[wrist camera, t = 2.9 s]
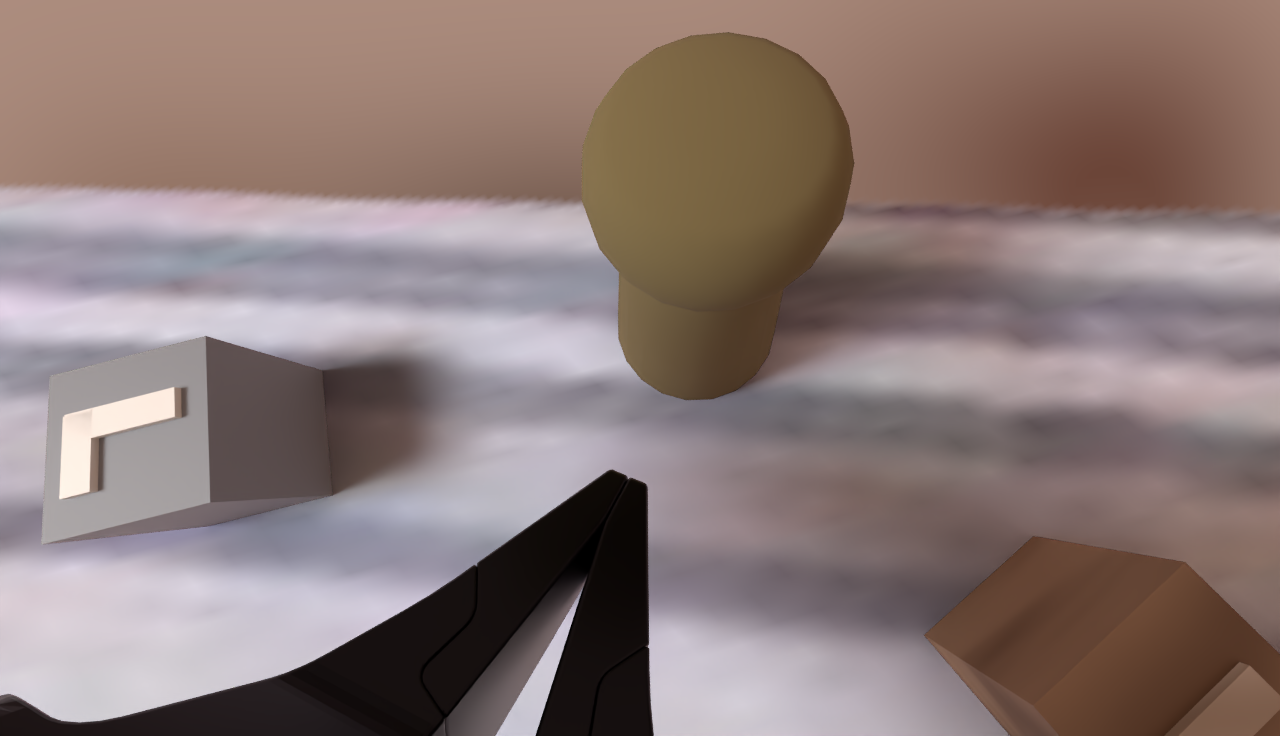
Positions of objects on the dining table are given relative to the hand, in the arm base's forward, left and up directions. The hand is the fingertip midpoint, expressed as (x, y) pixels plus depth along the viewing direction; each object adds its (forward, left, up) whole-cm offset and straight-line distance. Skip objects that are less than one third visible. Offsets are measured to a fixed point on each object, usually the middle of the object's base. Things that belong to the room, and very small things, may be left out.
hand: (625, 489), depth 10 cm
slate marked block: (+8, +13, -8) cm, 17 cm away
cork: (+4, -4, -8) cm, 10 cm away
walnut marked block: (-11, -8, -8) cm, 16 cm away
